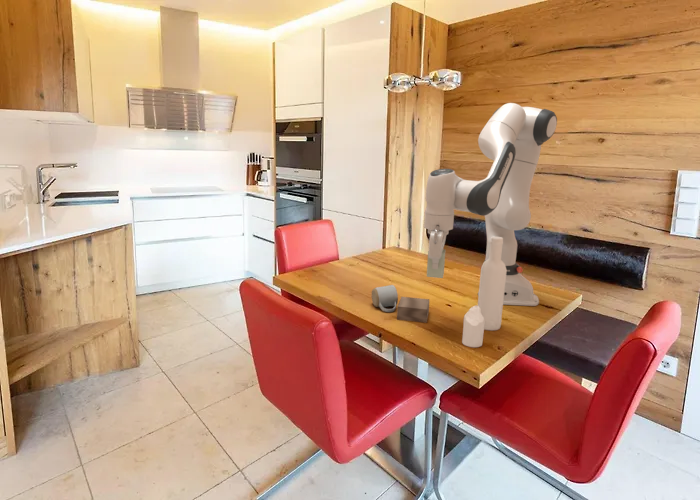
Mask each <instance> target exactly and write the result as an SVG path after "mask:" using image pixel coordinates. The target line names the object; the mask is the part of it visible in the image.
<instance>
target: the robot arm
mask: <svg viewBox="0 0 700 500" xmlns="http://www.w3.org/2000/svg"><path fill="white" fill-rule="evenodd" d="M557 125H558V118H557V114H556V113H555V112H554V111H552V110H549V109H546V108H543V109H542V108H538V107H533V106H521V105H520V104H518V103H514V102H508V103H505V104H503V105H502V106H500V107H498V108H497V109H496V110H494V112H493V113H492V116H490V118H489V120H488V121H487V123H486V124H485V125H484V127H483V128H482V130H481V131H480V133H479V135H478V137H477V138H478V139H477V143H478V147H479V150H480V151H481V153H482V154H483V155H484V156H485V157H486V158H487V159H489V160H491V161H493V163H492V165H491V167H490V169H489V172H488V174H487V176H486V177H485V178H484V179H481V180H470V179H469V180H467V179H464V178H462V177H459V176H458V175H457V174H456V171H455V170H454V169H452V168H439V169H435V170H432V171H431V172H429V174H428V178H427V181H426V188H425V202H426V207H425V210H424V221H423V227H424V229H427V234H428V235H429V242H428V251H429V254H428V253H427V256H428V255H429V258H431V259H432V268H433V269H438V264H439V259H440V258H441V255H442V251H443V249H444V247H445V244H446V239H447V235H449V231H451V230H453V229H454V220H455V219H454V218H455V210H456V211H461V212H467V213H472V214H473V215H474V214H475V215H479V216H481V217H482V216H483V217H484V218H485V219H484V220H485V221H484V222H485V229H486V230H485V231H486V251H485V259H484V261H483V263H484V262H485V261H486V260H487V259H489V253H490V240H491V237H502V238H503V244H502V253H501V260H502V261H503V262H504V264H505V266H506V270H507V272H506V281H505V290H504V299H503V306H504V305H506V306H508V305H510V306H526V307H527V306H530V307H535V306H538V305H539V304H540V298H539V297H538V295H537V294H535V293H534V288H533V285H532V283H531V282H530V280H529V279H527V278H526V277H524V276H523V275H522V274H521V273H523V271H524V270H523V267H522V266H521V265H519V263H517V262H516V260H517V253H518V241H517V239H516V234H515V231H521V230H523V229H525V228H527V226H528V225H529V223H530V222H531V218H532V217H531V216H532V214H531V210H530V194H531V193H530V192H531V186H532V183H533V178H534V176H535V172H536V171H537V170H536V169H537V167H538V163H539V159H540V154H541V150H542V145H543V144H544V143H545V142H548V141H549V140H551V138H552V137H553V135H554V134H555V132H556V129H557ZM477 295H478V296H479V291H478V292H477Z"/></svg>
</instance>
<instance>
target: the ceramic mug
mask: <svg viewBox="0 0 700 500" xmlns="http://www.w3.org/2000/svg"><path fill="white" fill-rule="evenodd" d="M398 296H399V294H398V290H397V288H396V285H394V284H389V285H385V286H377V287H375V288H373V289H372V290H371V301H372V305H373V306H374V307H375V308H380V309H381V311H382V312H385V313H393V312H394V311H396V310H397V306H398V303H399V302H398V300H399V297H398ZM386 307H387V308H386ZM389 307H393V308H389Z"/></svg>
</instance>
